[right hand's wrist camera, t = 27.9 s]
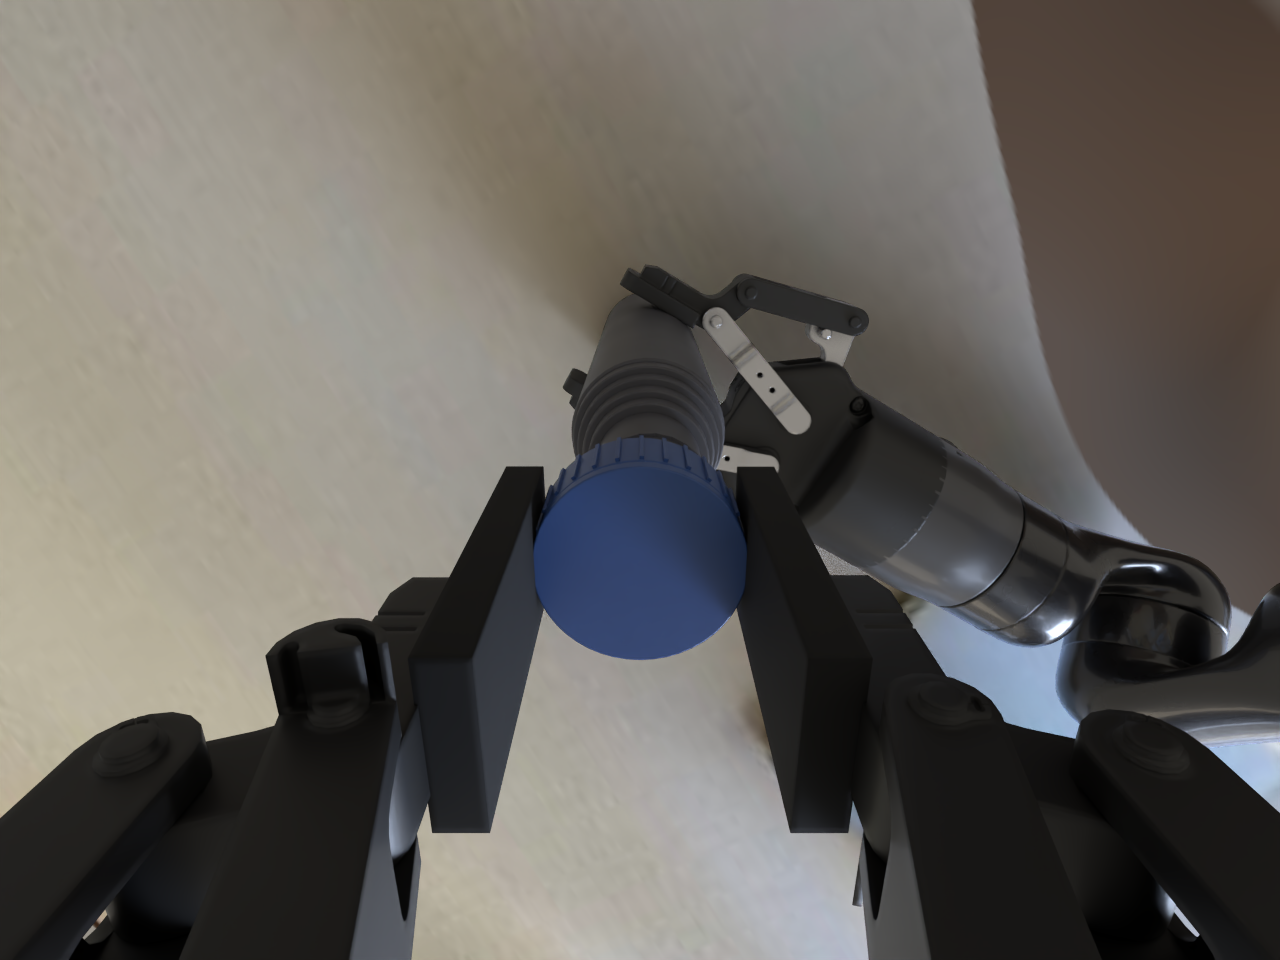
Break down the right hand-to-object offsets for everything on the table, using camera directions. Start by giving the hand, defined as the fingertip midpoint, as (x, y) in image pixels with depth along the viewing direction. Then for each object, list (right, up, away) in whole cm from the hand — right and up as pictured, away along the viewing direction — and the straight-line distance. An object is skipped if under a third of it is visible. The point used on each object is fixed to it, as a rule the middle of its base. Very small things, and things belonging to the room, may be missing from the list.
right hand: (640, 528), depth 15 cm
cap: (0, -1, -1) cm, 1 cm away
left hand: (-2, +8, +17) cm, 19 cm away
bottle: (0, +9, +24) cm, 25 cm away
